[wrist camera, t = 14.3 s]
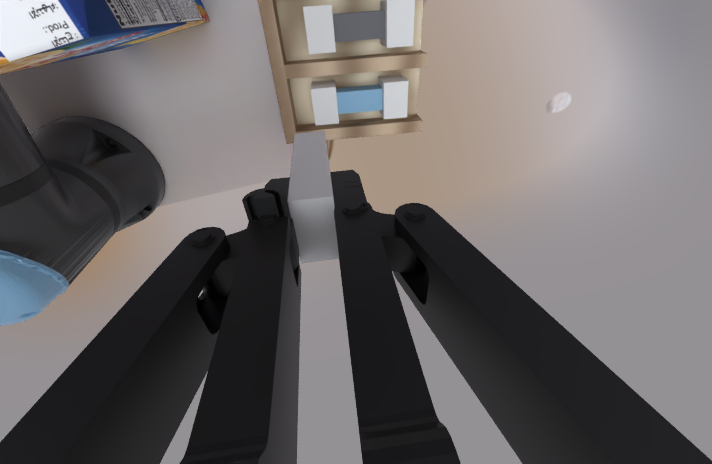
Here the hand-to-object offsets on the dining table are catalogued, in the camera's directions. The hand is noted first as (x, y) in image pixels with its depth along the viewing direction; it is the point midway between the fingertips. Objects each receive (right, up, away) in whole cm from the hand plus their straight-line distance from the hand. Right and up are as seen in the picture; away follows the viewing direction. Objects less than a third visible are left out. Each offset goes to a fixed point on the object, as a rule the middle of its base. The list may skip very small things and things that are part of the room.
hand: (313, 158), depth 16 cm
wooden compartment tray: (+2, +17, +21) cm, 27 cm away
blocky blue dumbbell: (+2, +14, +23) cm, 27 cm away
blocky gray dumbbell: (+2, +19, +19) cm, 27 cm away
